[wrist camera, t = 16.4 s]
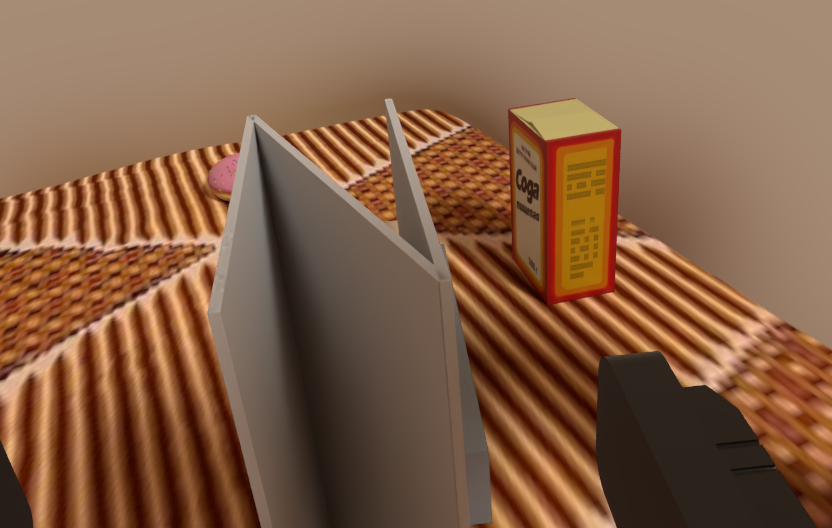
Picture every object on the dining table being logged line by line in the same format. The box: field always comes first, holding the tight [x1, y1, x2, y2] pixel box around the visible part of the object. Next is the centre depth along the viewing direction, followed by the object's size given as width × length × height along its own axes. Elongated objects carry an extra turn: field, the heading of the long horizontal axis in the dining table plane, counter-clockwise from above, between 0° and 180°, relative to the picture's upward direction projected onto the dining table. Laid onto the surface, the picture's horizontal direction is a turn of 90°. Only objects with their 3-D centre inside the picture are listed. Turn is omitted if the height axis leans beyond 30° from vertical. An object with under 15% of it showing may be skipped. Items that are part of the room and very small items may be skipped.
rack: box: [441, 244, 492, 525], centre depth 61 cm, size 11×27×6 cm, turn 4°
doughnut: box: [208, 153, 240, 202], centre depth 101 cm, size 11×11×4 cm
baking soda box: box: [508, 98, 621, 305], centre depth 73 cm, size 10×6×16 cm
